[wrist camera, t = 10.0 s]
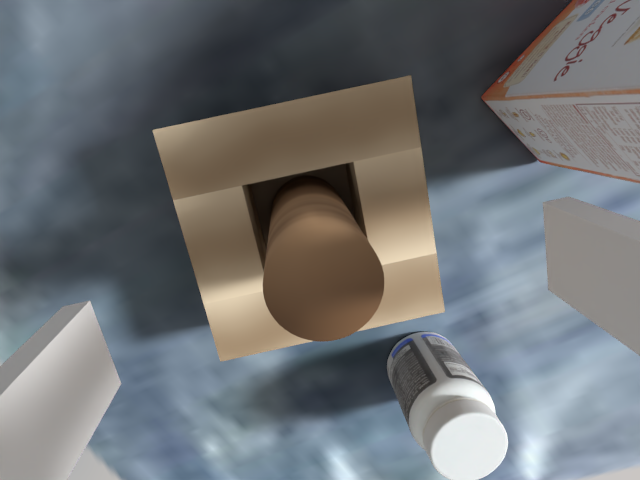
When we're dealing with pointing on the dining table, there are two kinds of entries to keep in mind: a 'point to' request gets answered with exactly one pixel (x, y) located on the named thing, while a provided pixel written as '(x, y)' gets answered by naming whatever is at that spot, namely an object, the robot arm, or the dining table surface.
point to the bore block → (278, 168)
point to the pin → (319, 264)
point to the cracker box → (578, 90)
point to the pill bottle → (446, 407)
